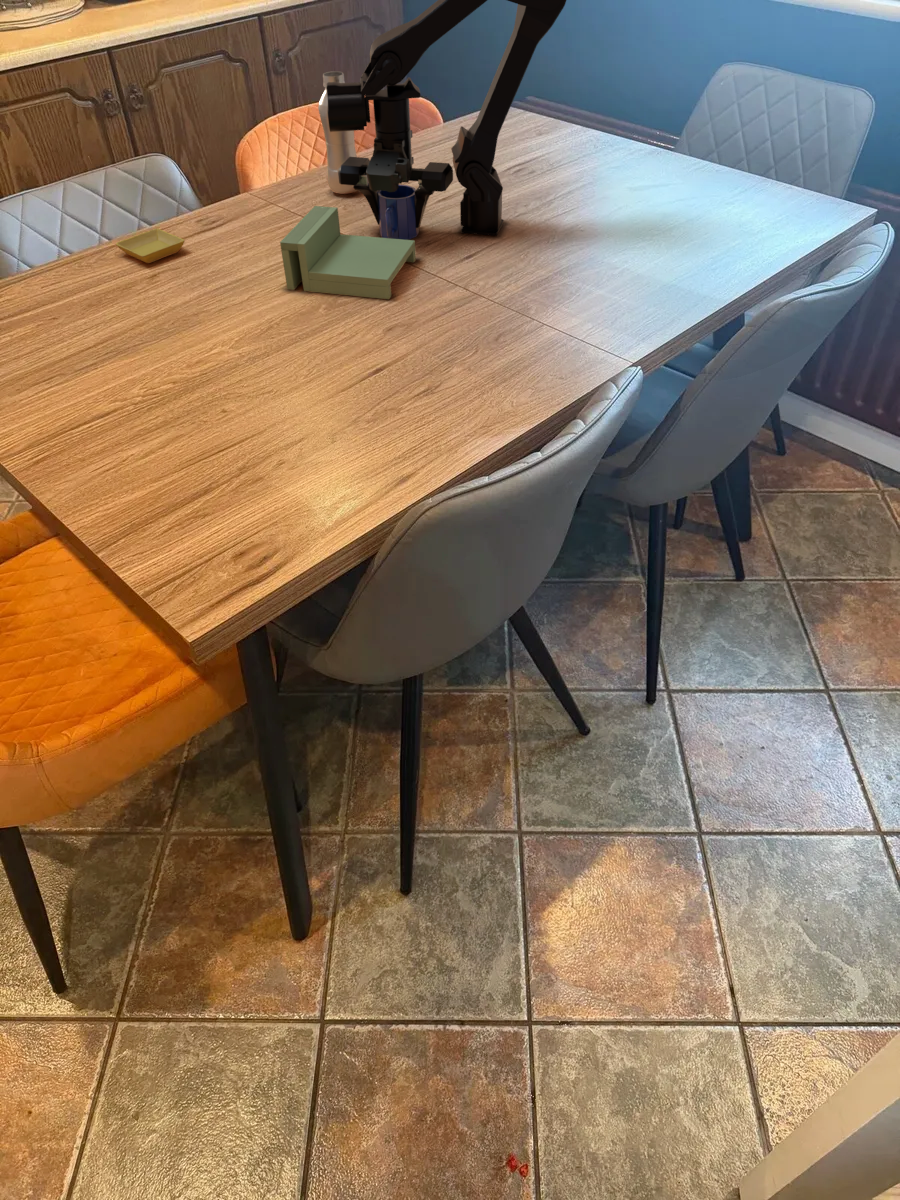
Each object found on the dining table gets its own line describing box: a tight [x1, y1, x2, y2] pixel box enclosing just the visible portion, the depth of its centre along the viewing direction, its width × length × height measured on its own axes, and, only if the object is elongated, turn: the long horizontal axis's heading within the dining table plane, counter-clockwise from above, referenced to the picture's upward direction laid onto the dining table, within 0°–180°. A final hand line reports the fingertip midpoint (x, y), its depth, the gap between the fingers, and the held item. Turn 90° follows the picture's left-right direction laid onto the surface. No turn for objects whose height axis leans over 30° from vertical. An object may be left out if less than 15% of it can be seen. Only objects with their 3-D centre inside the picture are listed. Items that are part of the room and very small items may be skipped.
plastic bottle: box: [317, 70, 359, 195], centre depth 159 cm, size 6×7×20 cm
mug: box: [377, 184, 420, 240], centre depth 148 cm, size 7×9×7 cm
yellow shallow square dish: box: [115, 228, 186, 264], centre depth 147 cm, size 9×9×2 cm
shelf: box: [279, 205, 417, 300], centre depth 137 cm, size 17×15×8 cm
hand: (398, 225), depth 151 cm, fingers closed on mug, 7 cm apart
